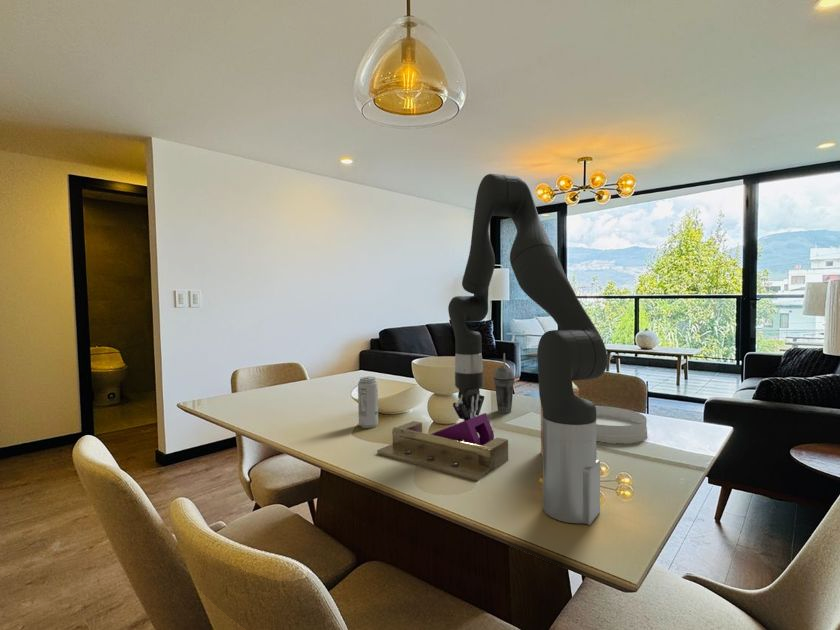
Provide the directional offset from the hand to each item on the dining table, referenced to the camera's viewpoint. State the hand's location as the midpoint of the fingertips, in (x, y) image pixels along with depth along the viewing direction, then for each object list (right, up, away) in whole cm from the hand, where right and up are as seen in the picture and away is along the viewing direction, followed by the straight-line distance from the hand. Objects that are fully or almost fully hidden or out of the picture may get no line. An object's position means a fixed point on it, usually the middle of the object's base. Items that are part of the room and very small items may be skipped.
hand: (469, 433), depth 120 cm
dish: (+40, -2, +8) cm, 41 cm away
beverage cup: (+16, -1, +32) cm, 36 cm away
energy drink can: (-29, -3, +18) cm, 34 cm away
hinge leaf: (-8, -3, -10) cm, 13 cm away
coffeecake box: (+19, -3, -16) cm, 25 cm away
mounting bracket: (-5, -3, -4) cm, 7 cm away
